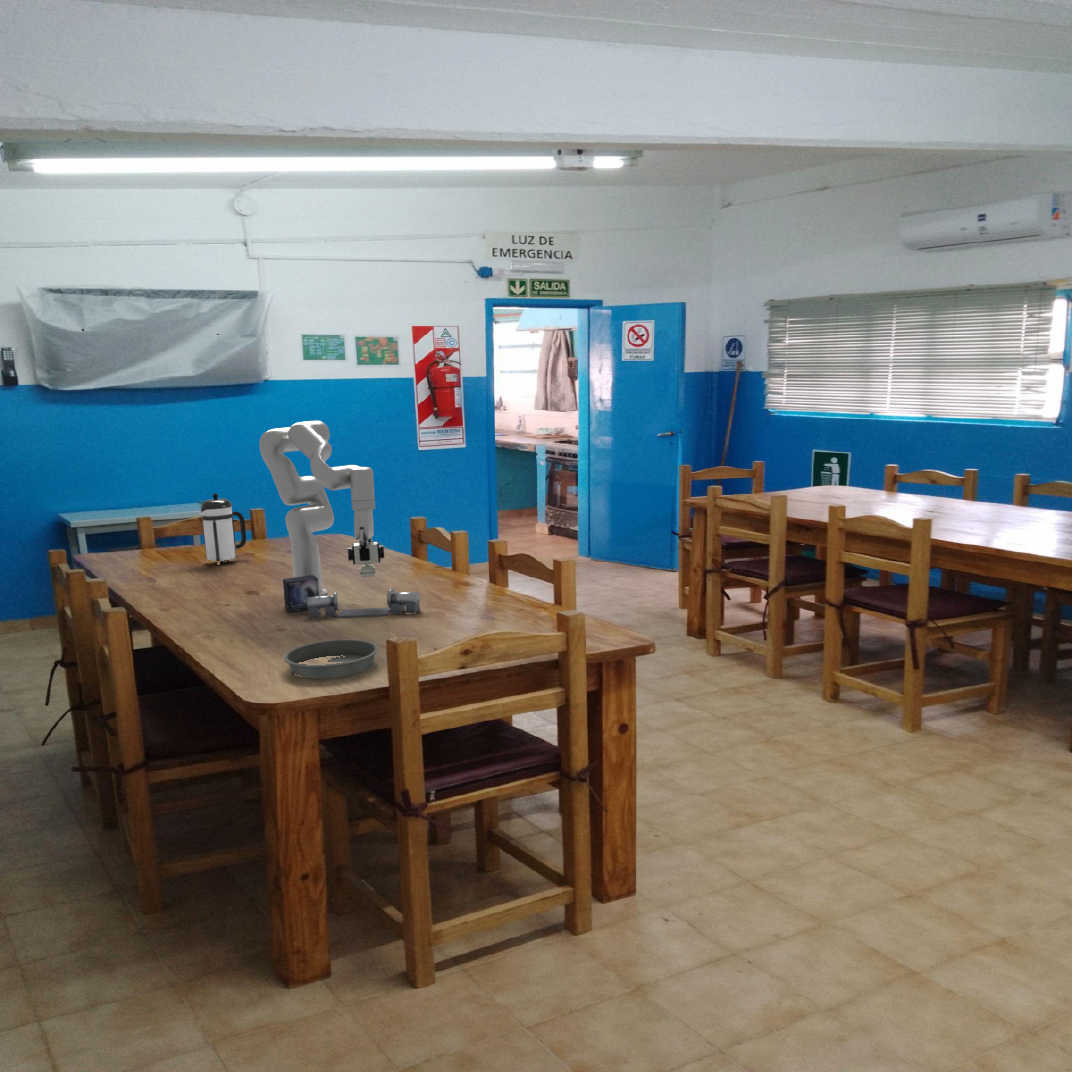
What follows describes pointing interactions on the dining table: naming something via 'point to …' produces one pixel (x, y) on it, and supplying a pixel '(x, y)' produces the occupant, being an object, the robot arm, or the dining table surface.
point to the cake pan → (354, 661)
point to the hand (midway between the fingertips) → (366, 558)
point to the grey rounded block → (403, 601)
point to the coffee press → (220, 529)
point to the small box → (299, 591)
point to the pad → (364, 612)
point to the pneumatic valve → (375, 557)
